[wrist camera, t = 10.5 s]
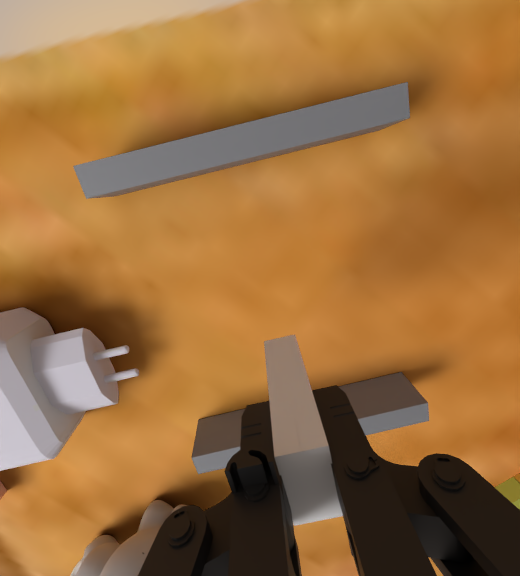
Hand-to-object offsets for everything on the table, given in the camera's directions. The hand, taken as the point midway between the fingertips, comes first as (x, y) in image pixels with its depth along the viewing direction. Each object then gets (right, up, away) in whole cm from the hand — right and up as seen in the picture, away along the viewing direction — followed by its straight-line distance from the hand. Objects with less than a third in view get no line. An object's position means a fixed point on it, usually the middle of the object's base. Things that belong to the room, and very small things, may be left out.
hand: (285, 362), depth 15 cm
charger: (-17, -2, +7) cm, 18 cm away
